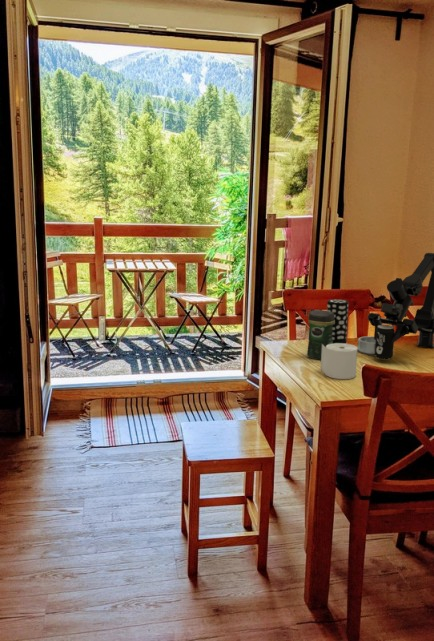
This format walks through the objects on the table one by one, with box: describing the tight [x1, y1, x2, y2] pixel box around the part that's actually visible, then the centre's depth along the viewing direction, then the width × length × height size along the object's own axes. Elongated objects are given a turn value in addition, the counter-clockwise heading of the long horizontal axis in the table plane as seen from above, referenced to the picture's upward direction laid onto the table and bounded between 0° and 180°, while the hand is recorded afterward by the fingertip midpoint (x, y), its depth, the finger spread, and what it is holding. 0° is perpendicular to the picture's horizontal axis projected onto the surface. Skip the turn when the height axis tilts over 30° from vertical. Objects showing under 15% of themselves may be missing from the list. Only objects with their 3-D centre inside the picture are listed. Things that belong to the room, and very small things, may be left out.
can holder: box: [357, 335, 376, 356], centre depth 218 cm, size 12×12×5 cm
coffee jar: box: [306, 309, 335, 361], centre depth 208 cm, size 10×8×19 cm
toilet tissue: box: [320, 343, 358, 380], centre depth 188 cm, size 11×12×10 cm
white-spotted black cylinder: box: [326, 298, 349, 344], centre depth 219 cm, size 8×8×20 cm
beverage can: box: [374, 324, 396, 360], centre depth 203 cm, size 7×7×12 cm
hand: (382, 341), depth 202 cm, fingers closed on beverage can, 6 cm apart
